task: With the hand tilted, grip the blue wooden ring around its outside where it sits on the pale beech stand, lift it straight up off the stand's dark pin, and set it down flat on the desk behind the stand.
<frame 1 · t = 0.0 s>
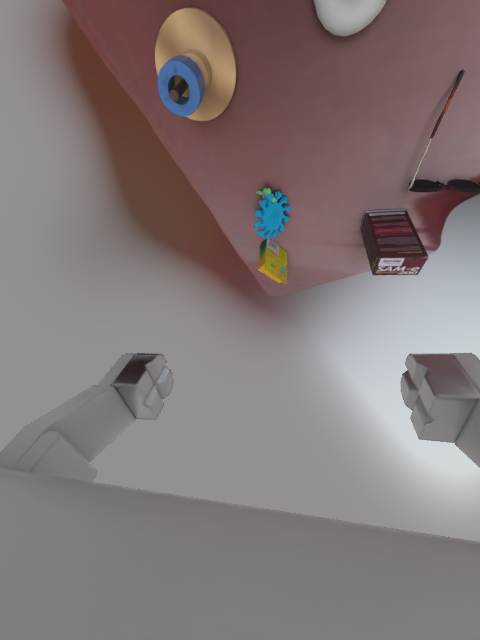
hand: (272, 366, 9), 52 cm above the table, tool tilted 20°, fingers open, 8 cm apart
sunglasses: (465, 131, 44), on the table
supplement box: (382, 218, 58), on the table
ring: (185, 83, 37), point 8 cm above the table, touching stand
stand: (197, 70, 42), on the table
gear: (272, 204, 59), on the table
crayon box: (274, 247, 68), on the table
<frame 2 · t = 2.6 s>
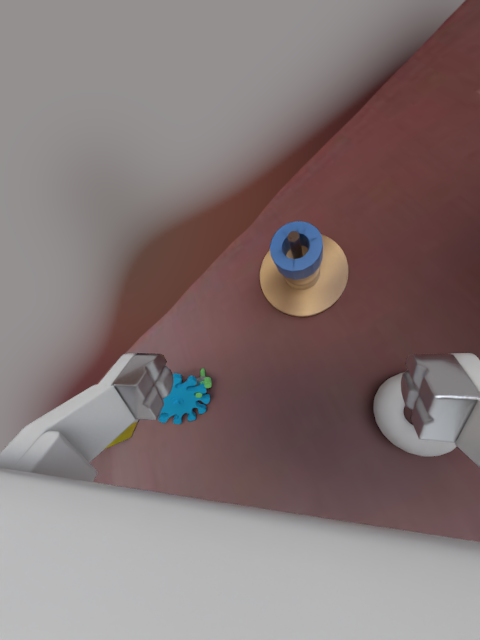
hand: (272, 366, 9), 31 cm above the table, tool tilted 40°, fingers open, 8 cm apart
ring: (298, 257, 32), point 8 cm above the table, touching stand
stand: (302, 275, 40), on the table
gear: (192, 394, 43), on the table
donut: (413, 409, 33), on the table
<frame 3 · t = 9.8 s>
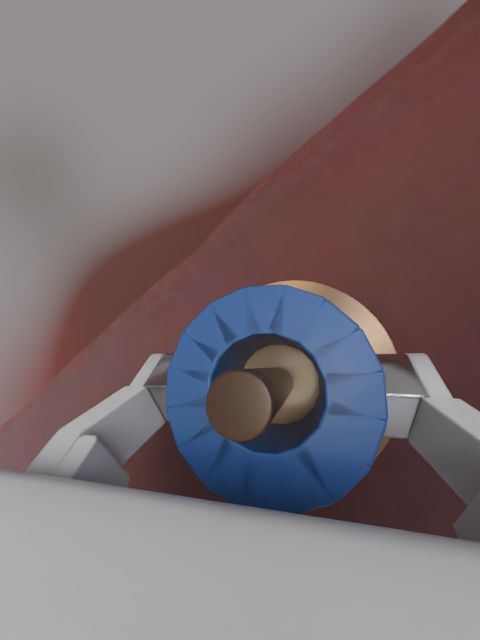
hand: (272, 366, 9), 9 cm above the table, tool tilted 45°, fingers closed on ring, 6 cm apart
ring: (278, 383, 10), point 8 cm above the table, touching gripper, stand
stand: (290, 375, 18), on the table
when the fingers open (1 cm above the table, at t = 21.5 s): ring stays where it is, on the table.
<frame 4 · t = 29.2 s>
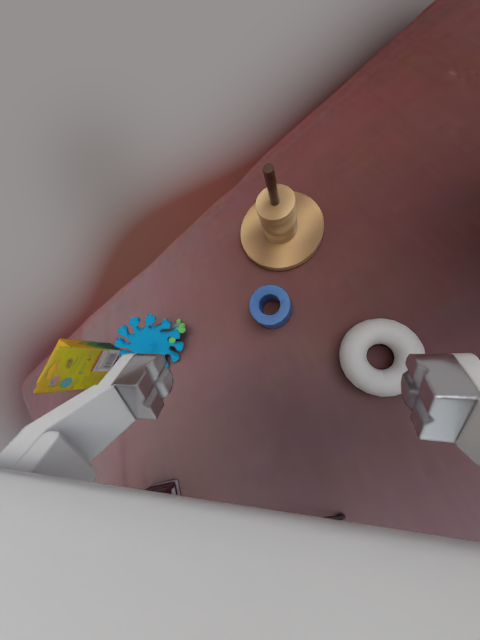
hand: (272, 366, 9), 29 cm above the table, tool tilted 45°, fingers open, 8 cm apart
supplement box: (170, 511, 38), on the table
ring: (272, 309, 39), on the table
stand: (281, 232, 41), on the table
gear: (166, 344, 43), on the table
crayon box: (107, 365, 45), on the table
donut: (376, 357, 35), on the table
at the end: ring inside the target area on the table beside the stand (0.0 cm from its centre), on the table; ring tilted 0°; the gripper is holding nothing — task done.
